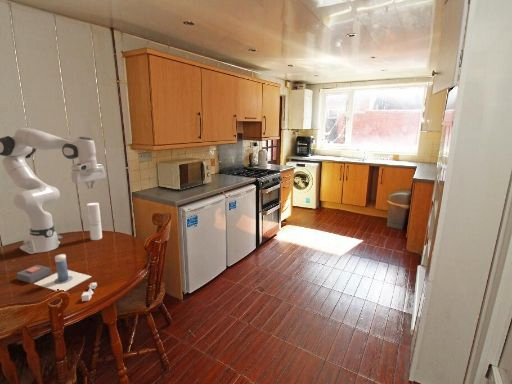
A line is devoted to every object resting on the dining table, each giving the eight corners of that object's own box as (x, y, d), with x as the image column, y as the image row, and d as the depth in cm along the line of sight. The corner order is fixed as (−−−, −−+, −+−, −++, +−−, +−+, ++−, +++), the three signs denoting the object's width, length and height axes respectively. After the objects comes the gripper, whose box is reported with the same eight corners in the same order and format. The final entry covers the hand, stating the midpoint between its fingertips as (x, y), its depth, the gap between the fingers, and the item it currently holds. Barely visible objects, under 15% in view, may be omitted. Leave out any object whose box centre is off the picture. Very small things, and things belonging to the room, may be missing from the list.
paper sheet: (33, 284, 141) (33, 283, 141) (64, 269, 155) (64, 268, 155) (62, 292, 134) (62, 292, 134) (91, 276, 149) (91, 276, 149)
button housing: (17, 279, 144) (16, 273, 144) (38, 270, 154) (37, 264, 153) (30, 283, 141) (29, 276, 140) (51, 273, 150) (50, 267, 150)
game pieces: (89, 301, 129) (89, 294, 128) (81, 302, 128) (80, 295, 128) (98, 286, 140) (97, 280, 140) (90, 287, 140) (90, 281, 139)
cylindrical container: (104, 237, 201) (101, 203, 196) (96, 240, 195) (92, 205, 189) (96, 235, 204) (93, 202, 198) (88, 239, 197) (84, 204, 192)
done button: (26, 275, 146) (26, 270, 145) (35, 271, 150) (35, 266, 149) (32, 277, 144) (31, 271, 144) (41, 273, 149) (40, 268, 148)
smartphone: (51, 240, 193) (41, 235, 200) (51, 241, 193) (41, 236, 200) (63, 236, 199) (52, 232, 206) (63, 238, 199) (52, 233, 207)
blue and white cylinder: (55, 280, 143) (52, 257, 140) (64, 276, 148) (61, 253, 145) (62, 282, 142) (58, 258, 139) (70, 278, 146) (67, 255, 143)
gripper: (99, 163, 176) (101, 184, 179) (68, 166, 157) (71, 191, 160) (107, 163, 174) (109, 185, 177) (76, 167, 155) (79, 192, 158)
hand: (90, 188), depth 168 cm, fingers closed
